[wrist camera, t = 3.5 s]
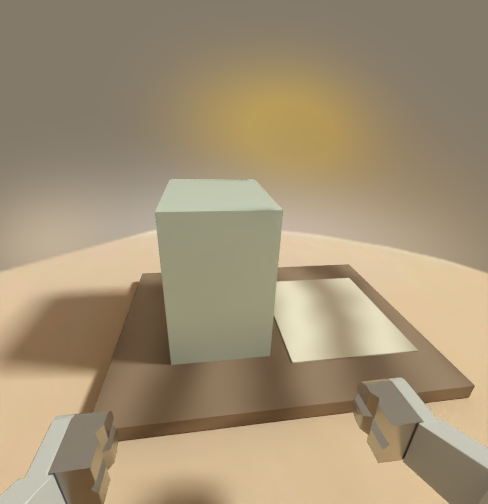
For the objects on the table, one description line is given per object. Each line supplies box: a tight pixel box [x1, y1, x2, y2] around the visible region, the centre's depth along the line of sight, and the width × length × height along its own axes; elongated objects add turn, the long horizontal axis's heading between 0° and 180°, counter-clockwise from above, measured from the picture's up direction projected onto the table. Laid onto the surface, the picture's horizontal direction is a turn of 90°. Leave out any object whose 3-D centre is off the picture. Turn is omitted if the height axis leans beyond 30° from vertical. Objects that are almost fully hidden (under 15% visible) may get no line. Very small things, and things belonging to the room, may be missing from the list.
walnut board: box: [93, 264, 475, 441], centre depth 23 cm, size 22×16×1 cm
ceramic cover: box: [155, 179, 283, 365], centre depth 20 cm, size 6×8×10 cm
